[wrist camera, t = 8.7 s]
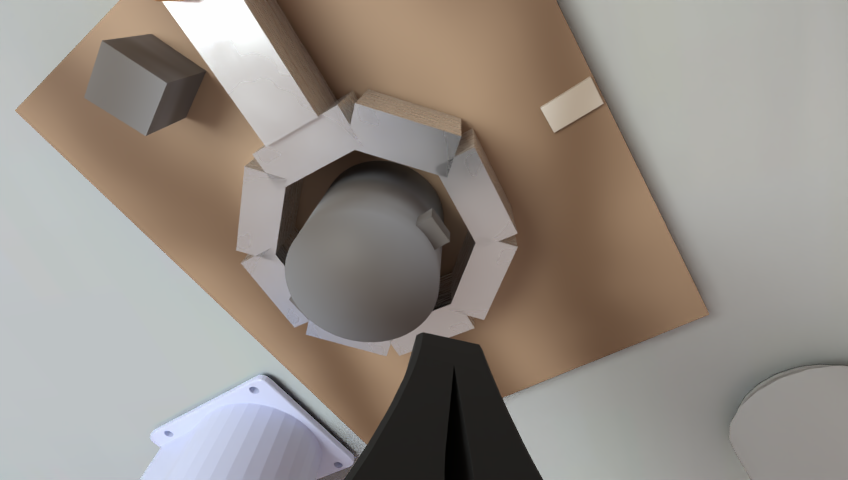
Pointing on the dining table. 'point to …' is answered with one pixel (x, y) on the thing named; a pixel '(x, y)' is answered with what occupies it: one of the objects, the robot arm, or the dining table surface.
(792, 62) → the dining table surface
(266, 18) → the collar
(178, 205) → the board
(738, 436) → the can
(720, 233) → the dining table surface
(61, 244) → the dining table surface
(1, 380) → the dining table surface
